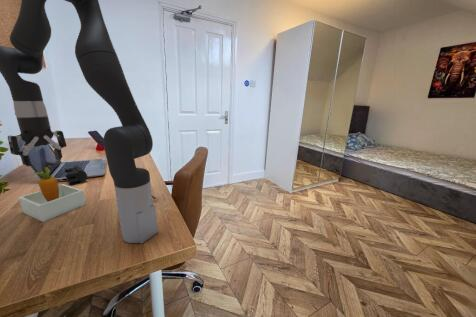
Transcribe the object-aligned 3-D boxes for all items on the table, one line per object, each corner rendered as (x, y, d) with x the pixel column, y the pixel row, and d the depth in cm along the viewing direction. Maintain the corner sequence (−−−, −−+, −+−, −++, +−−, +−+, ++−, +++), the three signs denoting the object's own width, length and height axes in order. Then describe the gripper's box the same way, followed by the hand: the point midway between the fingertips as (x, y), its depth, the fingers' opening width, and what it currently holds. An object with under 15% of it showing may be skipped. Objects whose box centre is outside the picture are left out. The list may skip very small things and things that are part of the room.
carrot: (53, 210, 75) (43, 171, 70) (41, 209, 76) (30, 170, 71) (66, 203, 80) (57, 166, 75) (55, 202, 80) (45, 165, 76)
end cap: (88, 182, 102) (86, 169, 100) (70, 186, 97) (67, 172, 95) (83, 177, 109) (81, 164, 107) (66, 180, 104) (63, 167, 102)
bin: (85, 204, 81) (82, 190, 80) (43, 222, 70) (38, 206, 68) (65, 197, 87) (62, 183, 85) (23, 212, 75) (18, 197, 73)
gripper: (7, 117, 61) (22, 170, 65) (63, 114, 73) (73, 159, 78) (-4, 116, 64) (11, 166, 68) (52, 113, 76) (61, 156, 81)
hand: (44, 162), depth 73 cm, fingers open, 8 cm apart
